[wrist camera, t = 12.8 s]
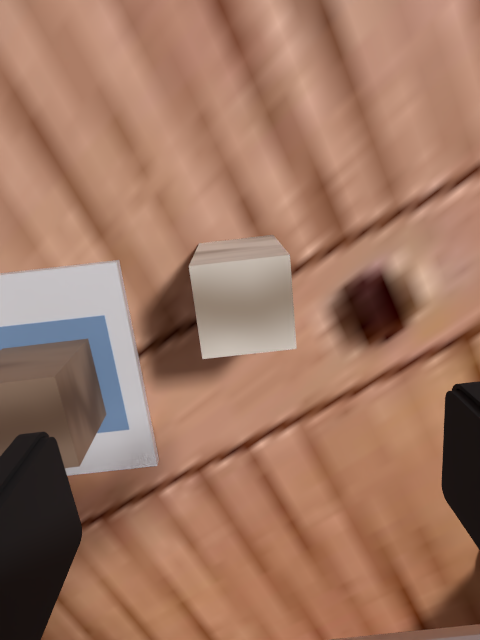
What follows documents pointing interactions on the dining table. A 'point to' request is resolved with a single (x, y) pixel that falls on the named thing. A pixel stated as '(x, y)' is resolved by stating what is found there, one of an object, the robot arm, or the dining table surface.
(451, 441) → the robot arm
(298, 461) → the dining table surface
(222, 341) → the ash pillar
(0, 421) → the walnut cube
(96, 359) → the board
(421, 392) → the dining table surface
